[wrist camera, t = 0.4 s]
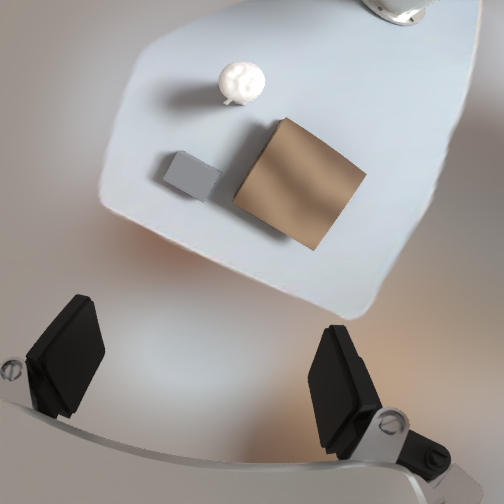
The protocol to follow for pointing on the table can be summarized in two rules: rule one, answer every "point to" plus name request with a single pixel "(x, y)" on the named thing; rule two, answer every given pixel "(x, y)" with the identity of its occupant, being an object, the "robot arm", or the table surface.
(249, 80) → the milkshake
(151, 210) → the table surface
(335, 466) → the robot arm
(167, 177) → the block
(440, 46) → the table surface
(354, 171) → the stand
